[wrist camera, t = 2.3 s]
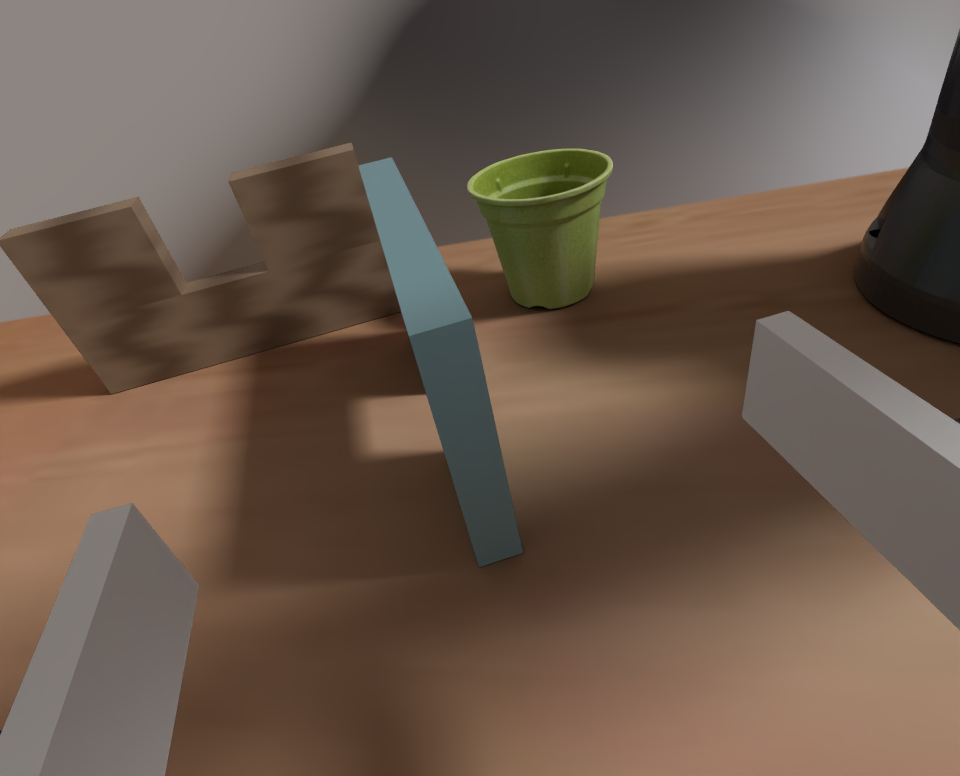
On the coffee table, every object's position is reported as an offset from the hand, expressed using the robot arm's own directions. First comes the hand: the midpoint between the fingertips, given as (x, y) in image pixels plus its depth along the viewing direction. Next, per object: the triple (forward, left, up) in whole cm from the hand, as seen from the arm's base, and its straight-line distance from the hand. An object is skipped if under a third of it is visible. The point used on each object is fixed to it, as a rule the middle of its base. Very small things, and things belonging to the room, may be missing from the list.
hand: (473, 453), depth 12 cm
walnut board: (+12, -31, -12) cm, 35 cm away
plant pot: (-10, -27, -13) cm, 32 cm away
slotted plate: (0, -16, -12) cm, 20 cm away
